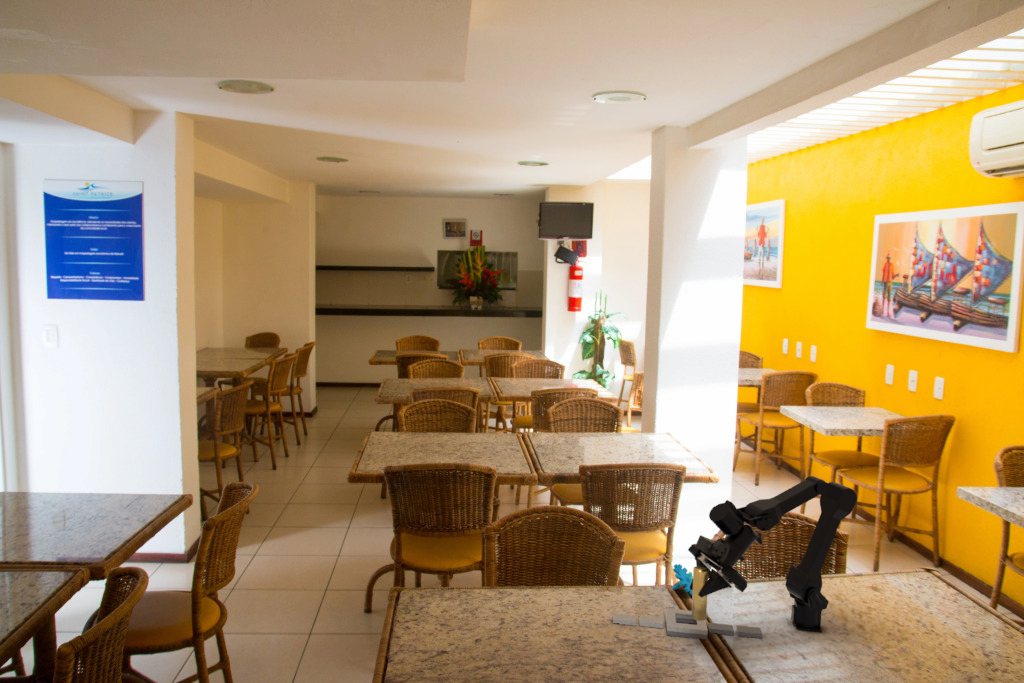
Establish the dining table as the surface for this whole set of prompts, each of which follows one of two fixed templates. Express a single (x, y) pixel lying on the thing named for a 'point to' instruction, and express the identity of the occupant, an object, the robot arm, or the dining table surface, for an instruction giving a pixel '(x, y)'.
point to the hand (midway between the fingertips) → (695, 592)
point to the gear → (683, 578)
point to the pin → (698, 602)
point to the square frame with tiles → (687, 625)
